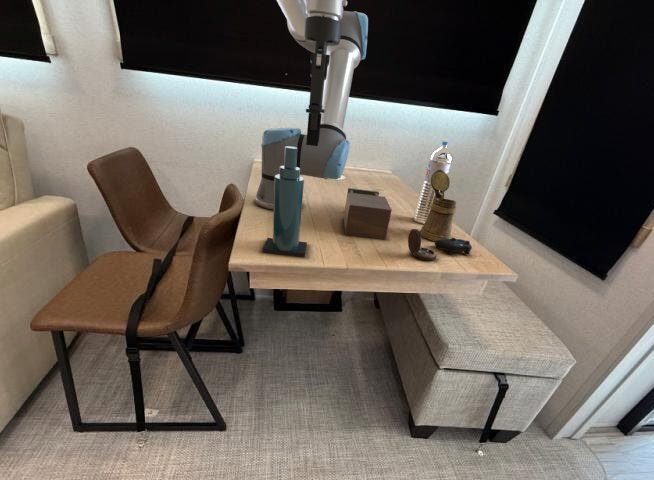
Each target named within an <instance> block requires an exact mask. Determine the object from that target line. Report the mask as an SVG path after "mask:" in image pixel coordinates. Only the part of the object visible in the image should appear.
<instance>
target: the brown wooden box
mask: <svg viewBox="0 0 654 480" xmlns="http://www.w3.org/2000/svg"><path fill="white" fill-rule="evenodd" d="M347 192H348V191H347ZM346 199H347V202H346V201H345V205H346V208H345V207H344V216H343V227H344V235H345V236H352V237H362V238H368V239H369V238H370V239H379V240H386V237H387V234H388V233H387V232H388V228H389V225H390V220H391V215H392V211H393V209H392V208H391V206H390V204H389V201H388V200H387V198H386V196H380V195H379V196H373V195H365V194H357V193H349V192H348V195H347V194H346Z"/></svg>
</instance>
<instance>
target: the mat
mask: <svg viewBox="0 0 654 480" xmlns="http://www.w3.org/2000/svg"><path fill="white" fill-rule="evenodd" d="M272 242H273V237H267V239H266V240H265V242H264V245H263V247H262V253H265V254H274V255H283V256H289V257H290V256H292V257H298V258H305V257H306V251H307V247H308V242H306V241H300V240H299V247H298V249H296V250H293V251H282V250H278V249H276V248H274V247H273V245H272Z"/></svg>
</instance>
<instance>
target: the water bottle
mask: <svg viewBox="0 0 654 480" xmlns="http://www.w3.org/2000/svg"><path fill="white" fill-rule="evenodd" d="M449 143H450V142H449V141H445V140H444V141H443V140H442V142H441V146H440V147H438V148H436V149H435V150H434V151H432V152H431V154H430V155H429V161H428V164H427V167H426V171H425V175H424V179H423V181H422V185H421V189H420V193H419V197H418V201H417V203H416V208H415V211H414V215H413V220H414V221H415V222H416V223H418V224H422V225H424V224H425V221H426V219H427V217H428V214H429V212H430V209H431V208H430V206H431V205H432V203H433V199H434V196H435V191H434V189H433V188H432V185H431V178H432V175H433V174H434V173H435V172H436V171H438V170H440V169H441V170H442V171H444V172H445V173H446V174H447V175H448V176H449V171H450V168H451V166H452V165H451V164H453V163H452V162H453V158H454V157H453V155H452V152H451V150H450V149H449V148H448V146H449V145H450V144H449Z"/></svg>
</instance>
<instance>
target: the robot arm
mask: <svg viewBox="0 0 654 480" xmlns="http://www.w3.org/2000/svg"><path fill="white" fill-rule="evenodd" d="M276 2H277V4H278V6H279V7H280V9H281V12H282V13H283V15H284V16H285V18H286V24H287V28H288V31H289V33H290V35H291V36H292V38H293V39H294V41H296V42H297V43H298V44H299V45H300V46H301V47H302V48H305V49H306V50H307V51H309V52H311V53H310V73H309V74H310V77H311V78H310V79H311V80H310V90H309V91H310V92H309V103H308V108H305V113H308V116H307V130H306V134H303V133H302V131H301V130H302V129H301V128H299V127H273V128H267V129H265V130H264V131H263V132H262V138H261V145H260V146H261V179H260V183H259V185H258V188H257V191H256V194H255V204H256V205H257V206H258V207H261V208H263V209H266V210H271V211H274V184H275V175H278V174H280V166H284V158H285V147H286V146H290V147H296V148H298V149H297V164H296V167H298V168H300V176H307V177H313V178H319V179H324V180H338V179H340V178H341V177H342V176H343V173H344V171H345V168H346V164H347V162H348V157H349V152H350V145H351V143H350V141H349V140H348V139H347V134H346V132H345V131H344V126H345V122H346V121H345V120H346V116H347V109H348V104H349V98H350V93H351V87H352V82H353V77H354V76H353V75H354V70H355V69H356V68H357V67H358V66H359V64H360V62H361V61H362V60H365V59H366V55H367V46H368V34H369V33H368V31H369V17H368V15H366V14H365V13H363V12H358V11H356V10H354V11H348V10H344V7H347V5H348V1H347V0H276Z"/></svg>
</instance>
